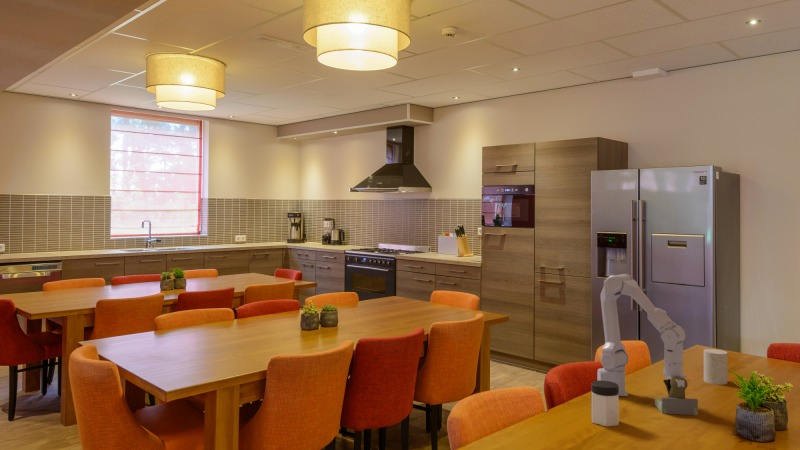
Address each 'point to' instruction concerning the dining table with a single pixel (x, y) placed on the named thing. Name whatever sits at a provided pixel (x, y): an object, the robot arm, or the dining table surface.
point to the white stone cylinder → (715, 366)
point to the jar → (605, 403)
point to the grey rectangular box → (677, 405)
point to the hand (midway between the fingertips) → (673, 401)
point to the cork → (677, 388)
